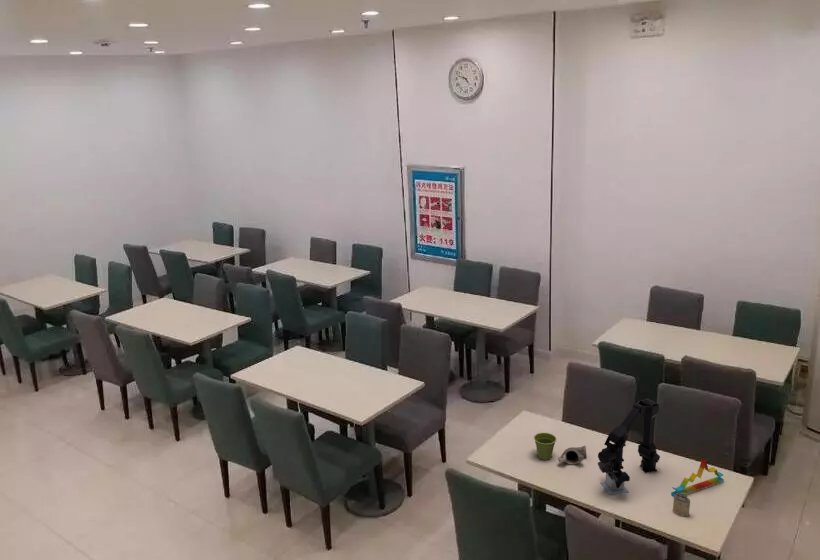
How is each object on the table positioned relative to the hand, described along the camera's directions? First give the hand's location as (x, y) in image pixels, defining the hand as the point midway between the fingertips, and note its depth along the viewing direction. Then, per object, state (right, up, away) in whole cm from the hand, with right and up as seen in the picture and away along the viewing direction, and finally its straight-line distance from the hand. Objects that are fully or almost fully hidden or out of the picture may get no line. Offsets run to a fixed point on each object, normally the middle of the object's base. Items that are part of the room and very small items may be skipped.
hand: (614, 483), depth 317 cm
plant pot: (-28, +5, +29) cm, 41 cm away
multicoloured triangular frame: (+40, -2, -2) cm, 40 cm away
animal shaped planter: (-14, +4, +25) cm, 29 cm away
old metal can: (+24, -8, -19) cm, 32 cm away
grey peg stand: (0, -2, +1) cm, 2 cm away
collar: (0, -1, 0) cm, 1 cm away
